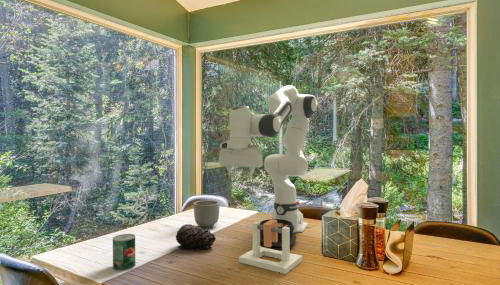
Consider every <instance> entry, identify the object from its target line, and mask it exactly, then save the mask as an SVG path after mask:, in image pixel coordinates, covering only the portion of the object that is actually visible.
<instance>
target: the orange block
mask: <svg viewBox="0 0 500 285" xmlns="http://www.w3.org/2000/svg"><path fill="white" fill-rule="evenodd" d="M272 228H277V220H273V219H272V218H271V220H269V221H268V222H266V223H264V224H263V232H264V242H263V246H264V247H265V248H271V247H273V246H272V242H275V243H276V242H278V233H277V232H271V229H272Z"/></svg>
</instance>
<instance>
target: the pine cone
mask: <svg viewBox="0 0 500 285" xmlns="http://www.w3.org/2000/svg"><path fill="white" fill-rule="evenodd" d="M216 238H217V237H216V236H215V234H214V233H211V231H210V230H209V229H208V228H207V229H205V228H201V227H200V226H198V225H194V224H193V225H192V224H189V223H188V224H183V225H182V226H181V227H180V228H179V229H178V230H177V232H176V235H175V241H176V243H178V244H179V246H178V249H180V250H184V251H185V250H188V251H204V252H205V251H207V252H208V251H209V252H210V251H212V250H213V247H212V246H213V245H214V242H215V241H216Z"/></svg>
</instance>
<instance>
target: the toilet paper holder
mask: <svg viewBox="0 0 500 285" xmlns="http://www.w3.org/2000/svg"><path fill="white" fill-rule="evenodd" d="M260 222H261V221H260ZM260 222H259V221H258V222H257V221H253V222H252V226H251V228H252V229H251V230H252V235H251V236H252V248H251V250H249V251H246V252H245V253H244V254H242V255H239V257H238V262H239V263H241V264H245V265H248V266H253V267H256V268H261V269H265V270H269V271H272V272H275V273H279V272H280V274H284V275H287V274H288V273H289V272H291V271H292V270H293V269H294V268H296V267H297V266H298V265H299V264H300V263H301V262H303V255H300V254H297V253H296V254H295V253H291V250H290V248H291V245H290V227H283V228H282V229H279V228H272V229H271V232H277V233H282V246H281V250H278V249H273V248H270V247H265V246H264V247H263V246H261V241H260V230H263V226H262V225H260ZM263 256H265V257H269V258H273V257H274V259H277V258H278V260H280V261H279V262H276V261H272V260H267V259H264V258H262V257H263ZM290 270H291V271H290Z"/></svg>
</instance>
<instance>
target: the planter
mask: <svg viewBox="0 0 500 285" xmlns="http://www.w3.org/2000/svg"><path fill="white" fill-rule="evenodd" d="M220 206H221V204H220V202H219V201H217V200H210V199H206V200H197V201H194V202H193V206H192V207H193V218H194V221H195V224H196V225H197V226H198V227H201V228H203V229H207V230H208V229H212V228H213V227H214V226H215V225H216V224H217V223H218V221H219V219H220Z"/></svg>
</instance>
